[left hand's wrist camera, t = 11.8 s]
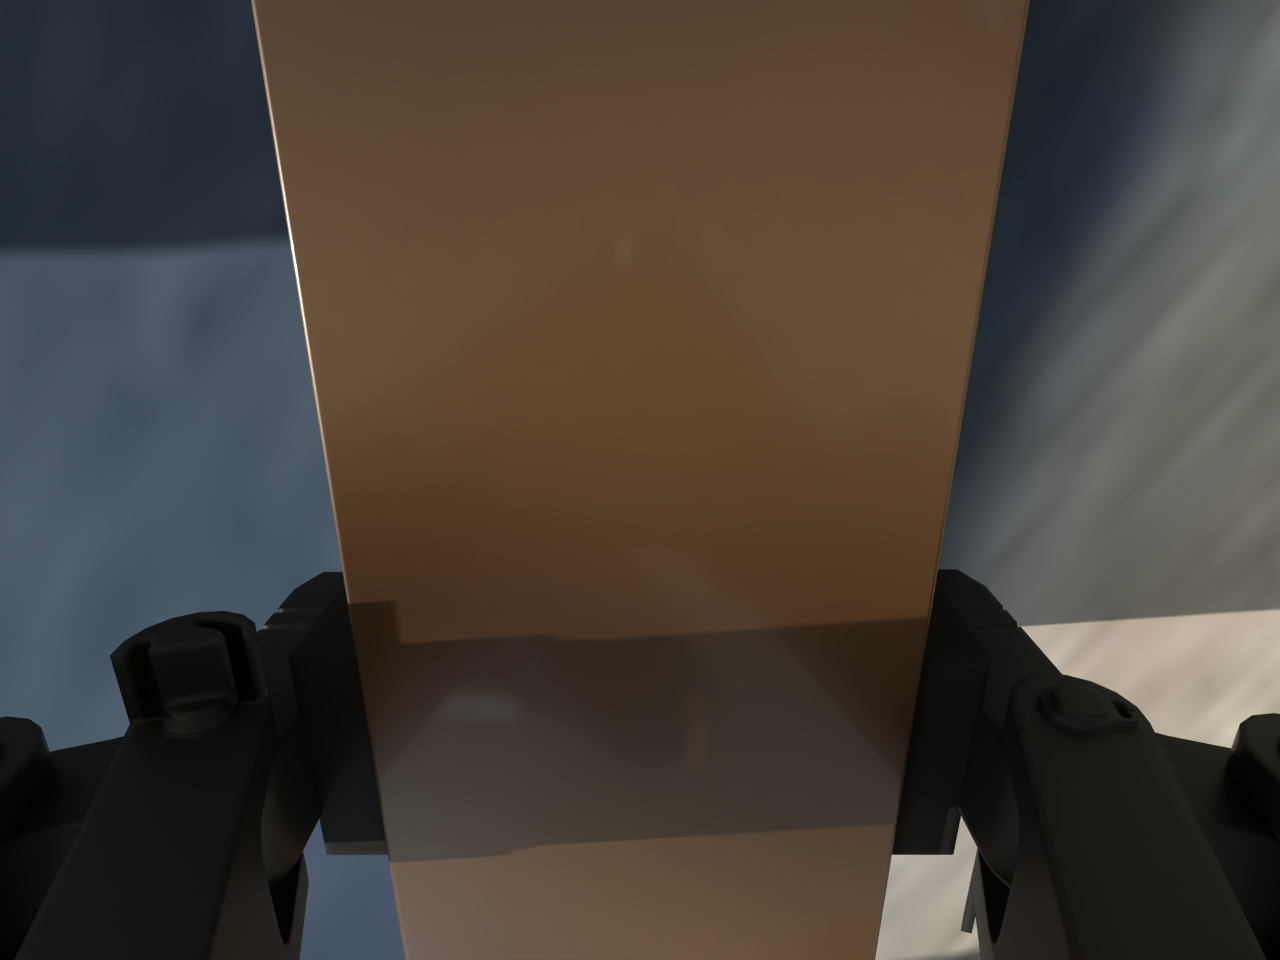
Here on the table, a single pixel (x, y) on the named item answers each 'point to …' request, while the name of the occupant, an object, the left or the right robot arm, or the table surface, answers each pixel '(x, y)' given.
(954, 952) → the table surface
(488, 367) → the brown wooden beam
